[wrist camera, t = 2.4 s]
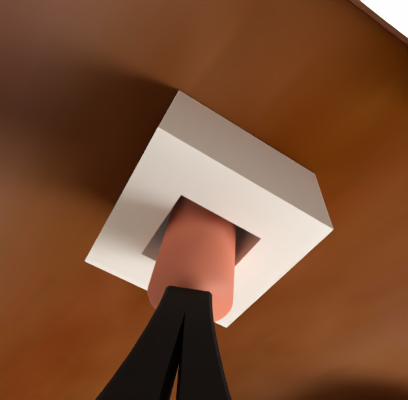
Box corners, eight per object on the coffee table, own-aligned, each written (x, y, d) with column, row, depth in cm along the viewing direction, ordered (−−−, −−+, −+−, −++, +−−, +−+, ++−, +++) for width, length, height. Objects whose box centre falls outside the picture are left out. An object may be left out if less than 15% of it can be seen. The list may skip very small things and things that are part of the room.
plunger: (249, 211, 14) (250, 291, 11) (214, 252, 16) (204, 335, 12) (191, 179, 14) (171, 252, 10) (160, 224, 15) (133, 302, 12)
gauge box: (314, 173, 15) (333, 229, 12) (229, 265, 19) (226, 327, 16) (178, 90, 14) (157, 126, 11) (115, 206, 18) (84, 261, 14)
